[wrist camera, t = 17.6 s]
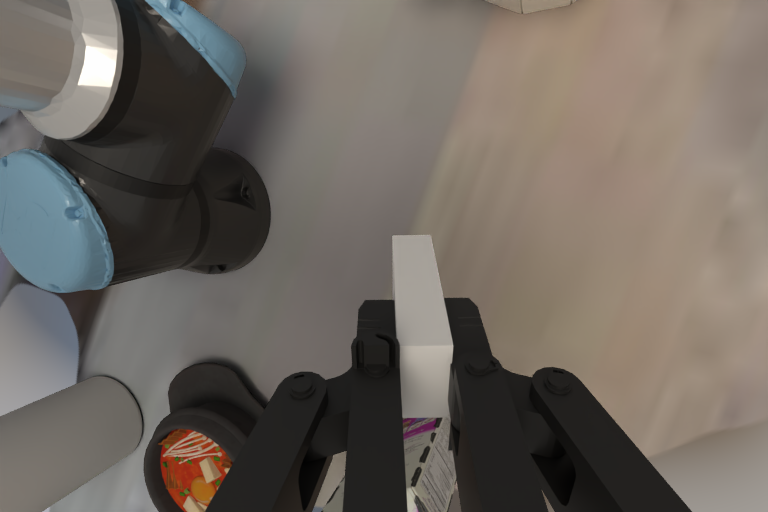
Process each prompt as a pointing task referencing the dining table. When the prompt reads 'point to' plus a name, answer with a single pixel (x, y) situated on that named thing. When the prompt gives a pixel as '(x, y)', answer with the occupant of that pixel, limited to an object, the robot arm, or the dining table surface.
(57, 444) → the cylinder vase
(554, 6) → the stockpot
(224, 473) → the casserole
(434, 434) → the candy bar box
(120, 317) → the dining table surface
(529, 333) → the dining table surface
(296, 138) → the dining table surface
